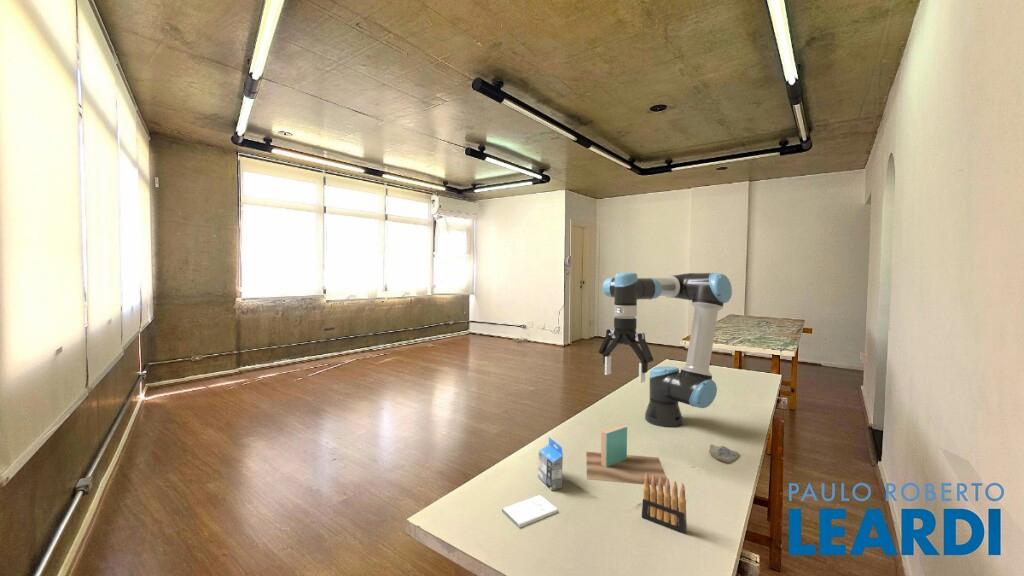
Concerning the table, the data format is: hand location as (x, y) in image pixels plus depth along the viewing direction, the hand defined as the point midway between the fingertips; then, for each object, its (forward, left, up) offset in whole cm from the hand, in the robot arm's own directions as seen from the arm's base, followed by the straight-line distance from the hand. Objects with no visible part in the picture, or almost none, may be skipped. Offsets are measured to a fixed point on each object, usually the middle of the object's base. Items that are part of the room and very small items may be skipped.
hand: (624, 378), depth 140 cm
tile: (+9, -4, -26) cm, 28 cm away
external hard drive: (+40, -28, -28) cm, 56 cm away
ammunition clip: (+39, +6, -27) cm, 48 cm away
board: (+12, -1, -27) cm, 30 cm away
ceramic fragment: (-5, +33, -28) cm, 44 cm away
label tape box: (+24, -24, -27) cm, 43 cm away
